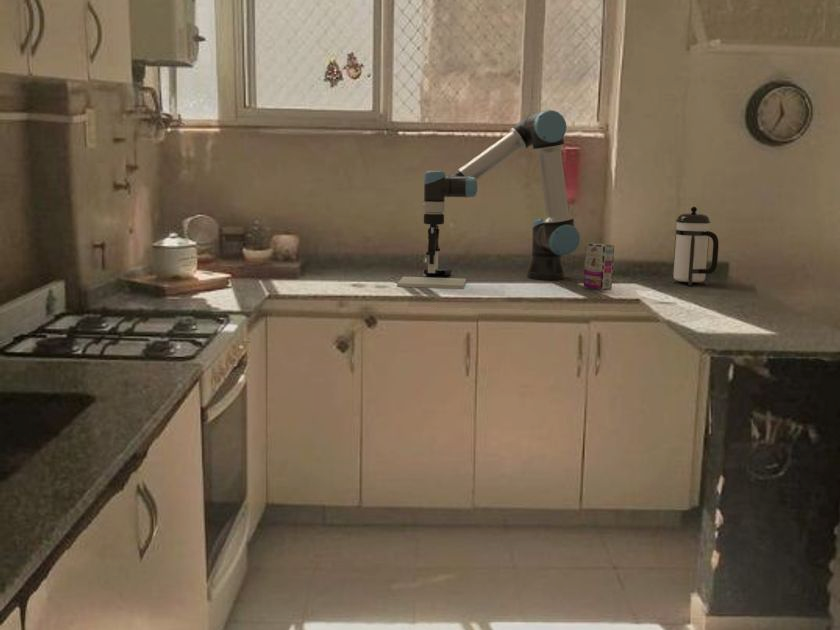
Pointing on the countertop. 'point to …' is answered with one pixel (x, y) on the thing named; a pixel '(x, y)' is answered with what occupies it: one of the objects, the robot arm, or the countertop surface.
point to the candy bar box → (598, 266)
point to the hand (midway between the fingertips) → (432, 270)
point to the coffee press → (693, 248)
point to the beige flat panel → (432, 282)
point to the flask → (438, 272)
